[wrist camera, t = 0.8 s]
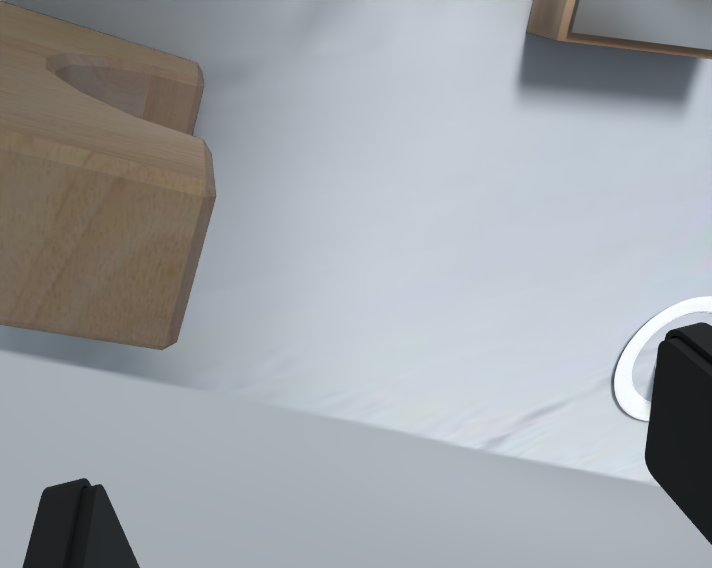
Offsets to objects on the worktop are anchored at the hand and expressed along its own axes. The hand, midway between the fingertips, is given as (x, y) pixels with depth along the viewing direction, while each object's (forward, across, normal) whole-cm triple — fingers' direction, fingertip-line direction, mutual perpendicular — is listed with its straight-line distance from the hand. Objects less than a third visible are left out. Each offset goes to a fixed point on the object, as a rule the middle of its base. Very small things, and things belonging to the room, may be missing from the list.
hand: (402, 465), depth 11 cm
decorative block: (+29, +8, -2) cm, 31 cm away
